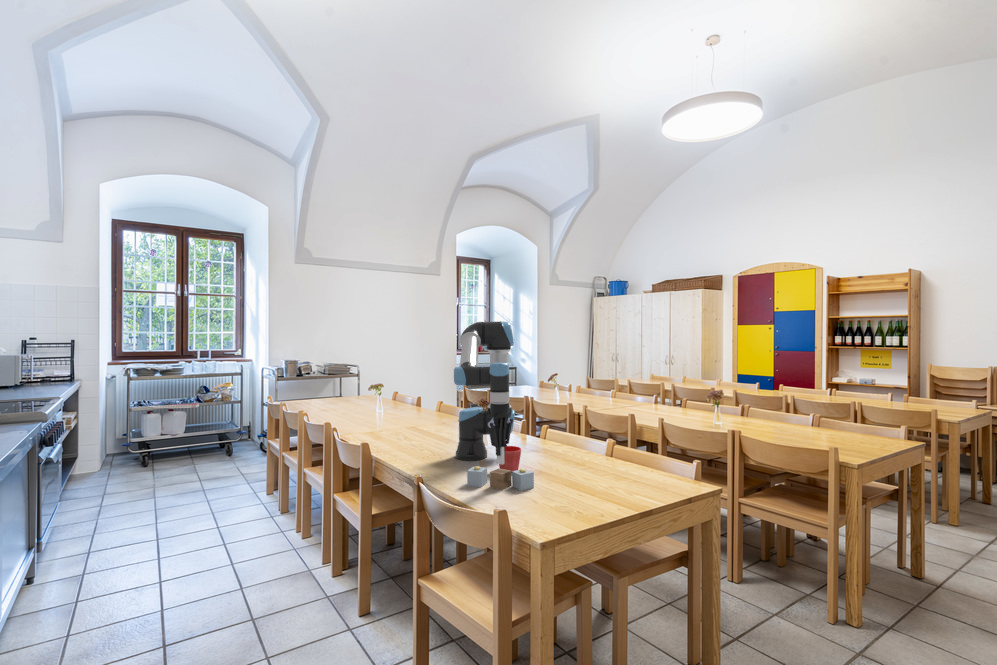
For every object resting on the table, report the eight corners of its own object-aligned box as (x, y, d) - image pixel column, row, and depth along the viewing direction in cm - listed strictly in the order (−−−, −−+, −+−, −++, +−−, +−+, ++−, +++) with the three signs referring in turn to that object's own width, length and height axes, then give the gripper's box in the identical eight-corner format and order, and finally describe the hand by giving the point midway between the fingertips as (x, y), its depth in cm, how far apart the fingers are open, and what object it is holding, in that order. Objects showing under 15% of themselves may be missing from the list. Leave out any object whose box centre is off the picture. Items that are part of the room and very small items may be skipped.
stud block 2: (525, 484, 197) (524, 466, 197) (533, 488, 192) (533, 470, 192) (512, 486, 194) (512, 469, 194) (520, 490, 189) (520, 472, 189)
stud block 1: (473, 481, 201) (472, 464, 201) (487, 482, 200) (486, 465, 200) (467, 486, 196) (467, 468, 196) (481, 487, 194) (481, 469, 194)
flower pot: (522, 467, 221) (521, 445, 221) (520, 474, 210) (520, 451, 210) (498, 467, 222) (497, 445, 222) (495, 474, 211) (495, 451, 211)
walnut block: (498, 483, 199) (498, 468, 199) (511, 485, 195) (511, 470, 195) (490, 487, 194) (489, 472, 194) (503, 490, 190) (502, 474, 190)
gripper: (504, 400, 202) (504, 458, 201) (481, 403, 192) (481, 465, 192) (518, 401, 196) (518, 461, 196) (495, 405, 187) (495, 468, 187)
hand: (500, 463), depth 194 cm, fingers closed
